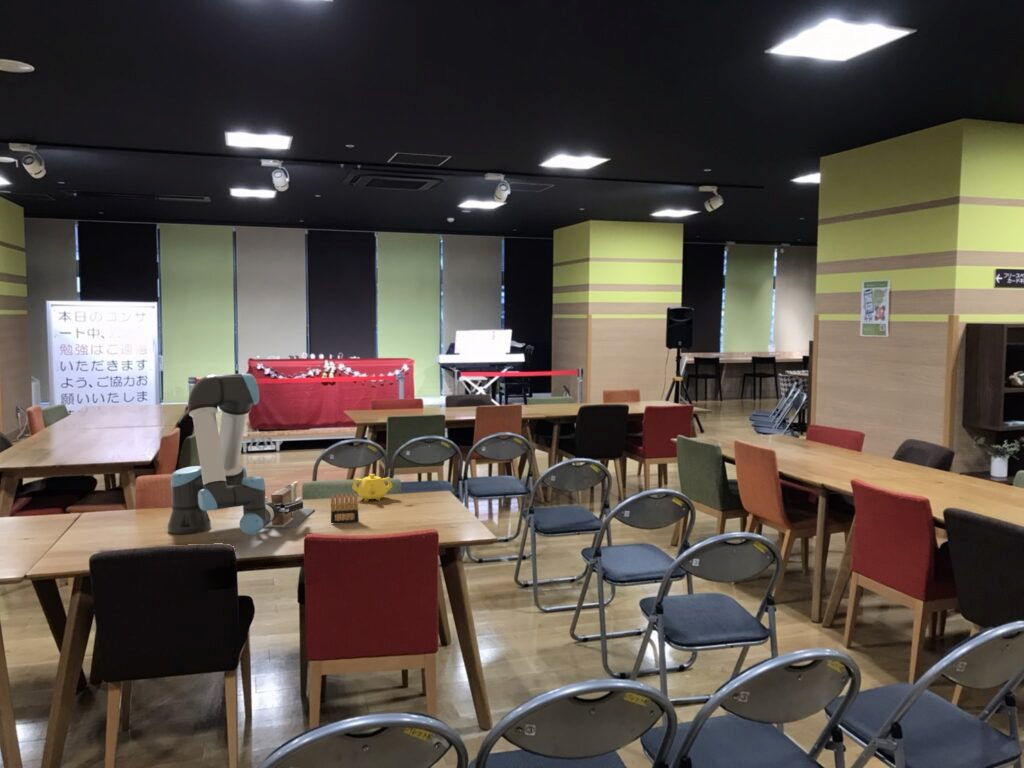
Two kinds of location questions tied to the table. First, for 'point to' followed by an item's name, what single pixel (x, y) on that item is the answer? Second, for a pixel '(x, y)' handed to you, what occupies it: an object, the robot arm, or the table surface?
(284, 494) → the brown rectangular block
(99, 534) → the table surface
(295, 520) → the mat
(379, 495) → the teapot
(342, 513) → the ammunition clip
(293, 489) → the birch hinge leaf
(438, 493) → the table surface
